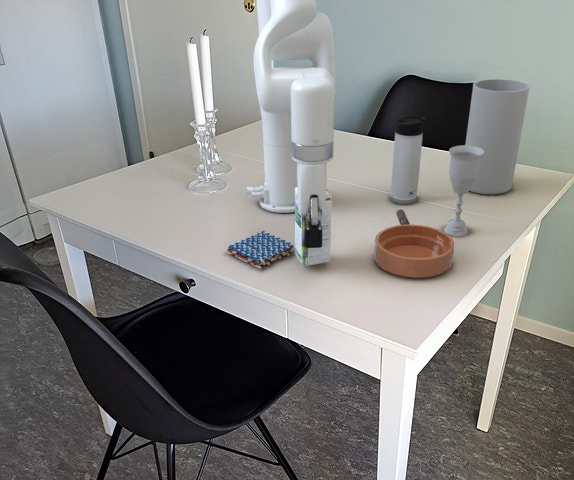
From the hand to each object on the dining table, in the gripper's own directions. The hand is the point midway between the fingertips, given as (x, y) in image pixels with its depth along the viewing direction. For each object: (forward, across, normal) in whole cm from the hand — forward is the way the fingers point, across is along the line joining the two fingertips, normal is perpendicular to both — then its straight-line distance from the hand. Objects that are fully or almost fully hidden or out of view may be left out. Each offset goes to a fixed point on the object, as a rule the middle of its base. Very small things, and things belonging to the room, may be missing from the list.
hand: (312, 237), depth 118 cm
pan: (+6, 0, +20) cm, 21 cm away
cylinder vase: (+6, -38, +46) cm, 60 cm away
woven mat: (+6, -5, -10) cm, 13 cm away
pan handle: (+3, -11, +20) cm, 23 cm away
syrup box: (+5, 0, 0) cm, 5 cm away
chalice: (+6, -13, +32) cm, 35 cm away
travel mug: (+6, -31, +24) cm, 39 cm away
